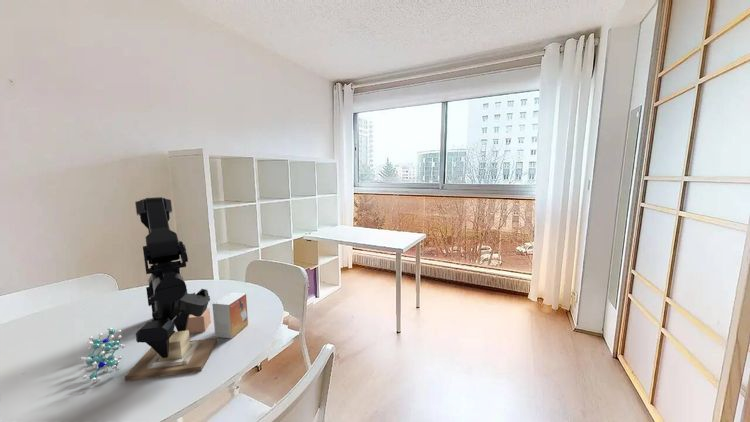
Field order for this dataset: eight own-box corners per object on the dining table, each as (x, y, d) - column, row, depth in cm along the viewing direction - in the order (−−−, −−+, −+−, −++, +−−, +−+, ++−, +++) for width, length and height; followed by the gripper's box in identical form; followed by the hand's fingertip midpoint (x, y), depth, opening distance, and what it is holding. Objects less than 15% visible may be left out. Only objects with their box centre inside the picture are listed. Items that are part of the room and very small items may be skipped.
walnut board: (125, 381, 65) (124, 373, 65) (153, 349, 77) (152, 342, 77) (201, 370, 69) (200, 363, 68) (217, 341, 80) (217, 335, 80)
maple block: (159, 362, 70) (157, 344, 69) (169, 350, 75) (167, 332, 74) (182, 359, 71) (180, 341, 70) (190, 347, 76) (188, 330, 75)
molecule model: (128, 342, 80) (124, 318, 79) (126, 377, 67) (122, 349, 66) (87, 354, 75) (83, 329, 74) (77, 394, 62) (71, 364, 61)
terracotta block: (186, 333, 84) (185, 318, 84) (193, 324, 89) (191, 309, 88) (205, 331, 85) (203, 316, 85) (210, 322, 90) (209, 308, 90)
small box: (231, 339, 81) (228, 305, 80) (214, 337, 82) (211, 303, 81) (249, 324, 89) (246, 293, 88) (233, 322, 90) (230, 291, 89)
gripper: (187, 302, 63) (194, 365, 65) (216, 272, 81) (220, 323, 83) (129, 307, 60) (139, 373, 63) (172, 275, 78) (178, 327, 81)
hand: (174, 345), depth 72 cm, fingers open, 9 cm apart
